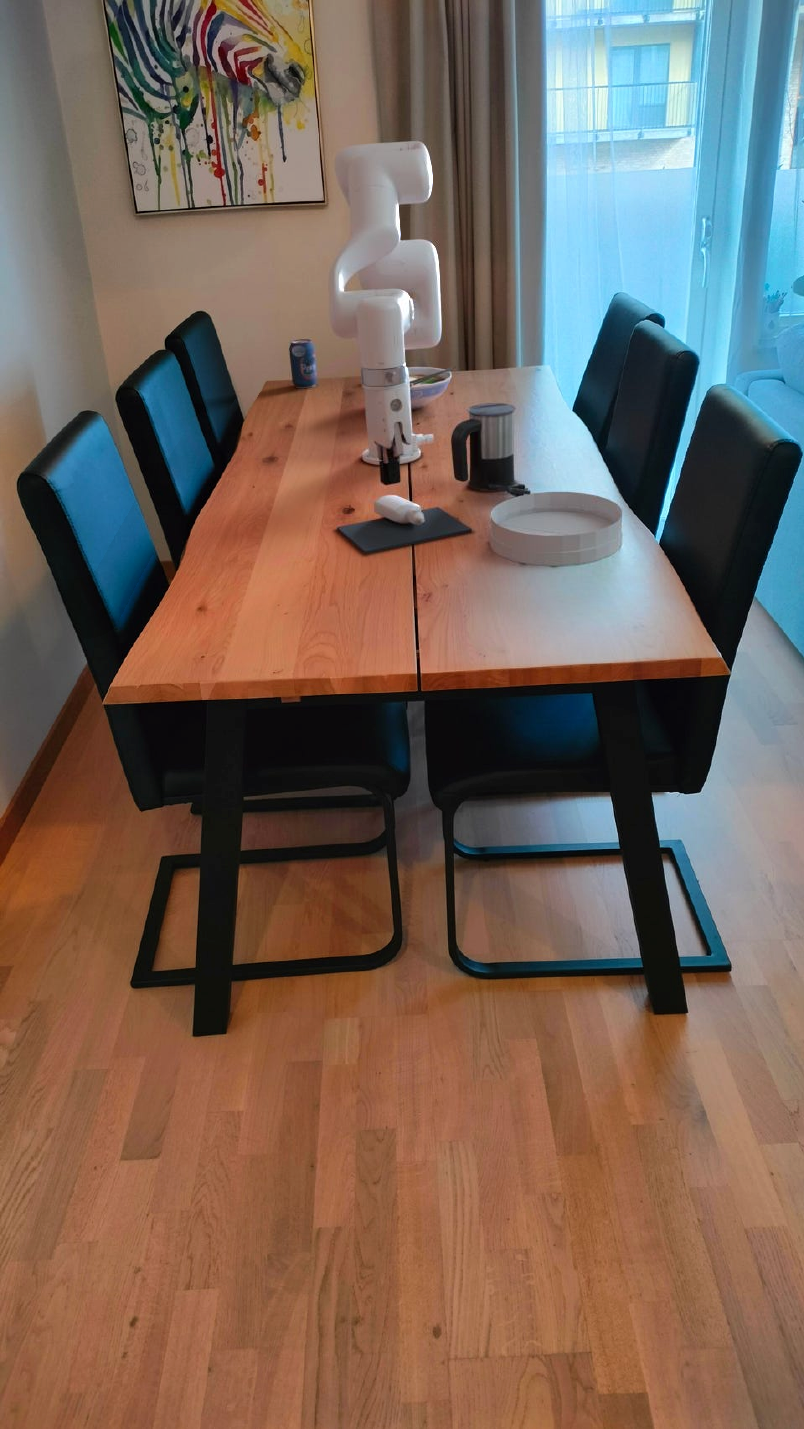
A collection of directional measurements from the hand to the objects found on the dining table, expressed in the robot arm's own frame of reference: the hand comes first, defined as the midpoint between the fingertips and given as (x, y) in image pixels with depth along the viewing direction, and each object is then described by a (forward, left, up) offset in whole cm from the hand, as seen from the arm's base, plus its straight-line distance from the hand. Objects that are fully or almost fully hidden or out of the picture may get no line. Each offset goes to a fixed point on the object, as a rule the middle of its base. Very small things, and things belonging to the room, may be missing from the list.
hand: (390, 482), depth 182 cm
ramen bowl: (-37, -78, -8) cm, 87 cm away
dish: (-20, +23, -8) cm, 31 cm away
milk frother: (-25, -6, -8) cm, 27 cm away
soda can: (-23, -118, -8) cm, 120 cm away
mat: (0, +4, -8) cm, 9 cm away
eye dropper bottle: (-1, -5, -5) cm, 7 cm away
